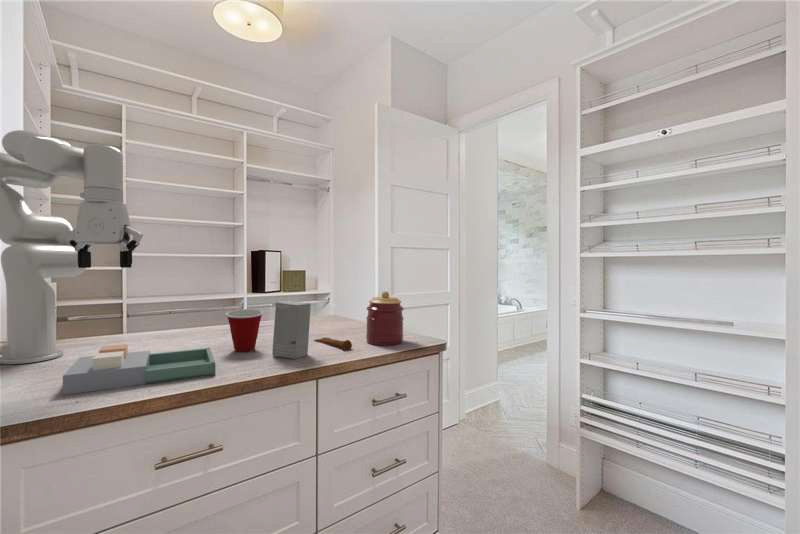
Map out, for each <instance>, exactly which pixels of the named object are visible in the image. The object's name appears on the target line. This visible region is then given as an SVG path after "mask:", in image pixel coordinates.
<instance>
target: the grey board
mask: <svg viewBox="0 0 800 534" xmlns="http://www.w3.org/2000/svg"><path fill="white" fill-rule="evenodd" d="M150 354H151V350H142V351H131V352H129V351H128V355H127V357H126V359H124V363H123V365H122V367H119V368H110V369H101V370H93V366H92V359H93V358H94V356H95V355H90V356H81V357H79V358H78V359H77V360H76V361H75V362H74V363H73V364H72V365H71V366H70V367H69V369H67V370H66V371H65V373H63V375H62V395H63V396H64V395H66V396H67V395H73V394H79V393H86V392H87V393H89V392H93V391H94V392H95V391H102V390H109V389H118V388H125V387H131V386H139V385H147V384H146V370H149V366H150Z"/></svg>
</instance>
